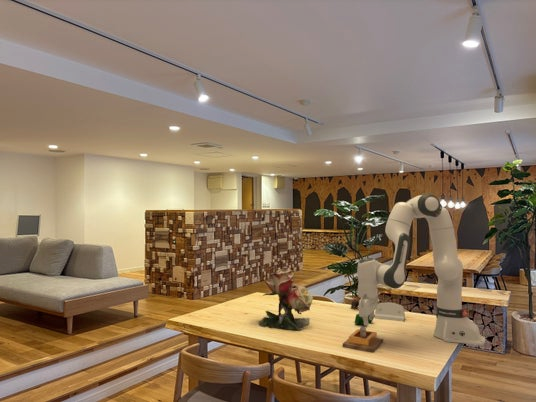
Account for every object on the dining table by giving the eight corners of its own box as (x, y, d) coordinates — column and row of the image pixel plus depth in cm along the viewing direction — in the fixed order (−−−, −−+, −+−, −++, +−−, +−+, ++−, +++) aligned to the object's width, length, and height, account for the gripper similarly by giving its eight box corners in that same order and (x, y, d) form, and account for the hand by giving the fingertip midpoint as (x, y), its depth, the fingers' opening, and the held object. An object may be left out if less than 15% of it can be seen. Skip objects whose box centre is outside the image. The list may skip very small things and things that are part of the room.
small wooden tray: (376, 338, 185) (376, 332, 185) (368, 346, 173) (368, 339, 174) (357, 335, 189) (357, 329, 189) (348, 343, 178) (348, 336, 178)
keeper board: (382, 342, 184) (382, 324, 184) (373, 352, 170) (373, 333, 171) (353, 337, 191) (353, 320, 192) (342, 347, 177) (342, 328, 178)
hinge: (373, 318, 225) (374, 300, 228) (375, 319, 229) (375, 301, 232) (404, 321, 218) (405, 303, 222) (405, 322, 222) (405, 304, 226)
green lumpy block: (364, 334, 210) (364, 321, 206) (354, 329, 214) (354, 316, 210) (375, 321, 218) (375, 308, 214) (365, 317, 222) (366, 304, 218)
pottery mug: (352, 306, 255) (358, 295, 255) (364, 315, 250) (371, 304, 250) (346, 305, 245) (353, 294, 245) (359, 314, 240) (366, 302, 240)
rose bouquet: (309, 332, 199) (309, 272, 200) (255, 327, 208) (255, 270, 209) (319, 319, 223) (319, 266, 224) (270, 314, 232) (270, 263, 233)
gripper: (368, 297, 175) (369, 329, 175) (379, 289, 193) (380, 317, 193) (354, 296, 178) (355, 327, 178) (366, 288, 196) (367, 316, 196)
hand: (368, 322), depth 185 cm, fingers open, 8 cm apart
